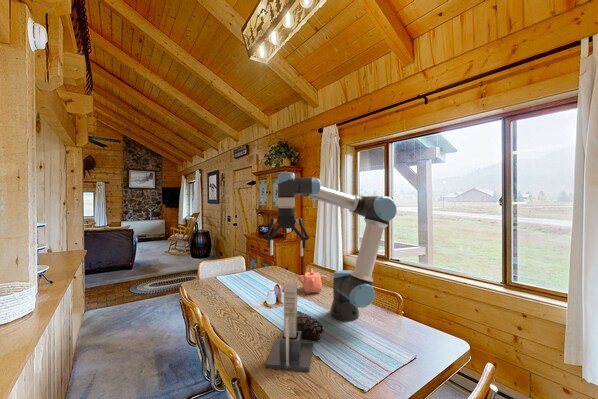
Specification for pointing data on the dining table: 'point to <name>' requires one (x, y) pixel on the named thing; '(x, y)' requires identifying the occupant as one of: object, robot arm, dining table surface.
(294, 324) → the column
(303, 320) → the pine cone
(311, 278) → the teapot
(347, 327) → the dining table surface
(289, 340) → the stand base
